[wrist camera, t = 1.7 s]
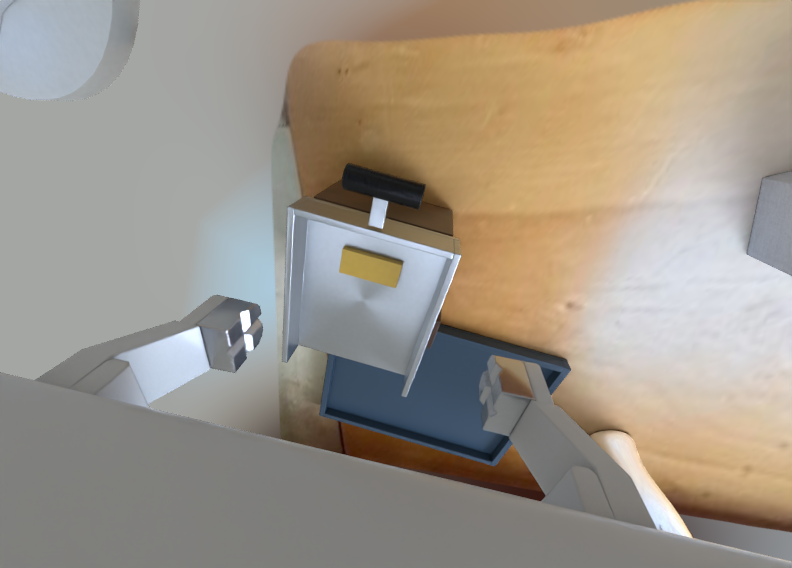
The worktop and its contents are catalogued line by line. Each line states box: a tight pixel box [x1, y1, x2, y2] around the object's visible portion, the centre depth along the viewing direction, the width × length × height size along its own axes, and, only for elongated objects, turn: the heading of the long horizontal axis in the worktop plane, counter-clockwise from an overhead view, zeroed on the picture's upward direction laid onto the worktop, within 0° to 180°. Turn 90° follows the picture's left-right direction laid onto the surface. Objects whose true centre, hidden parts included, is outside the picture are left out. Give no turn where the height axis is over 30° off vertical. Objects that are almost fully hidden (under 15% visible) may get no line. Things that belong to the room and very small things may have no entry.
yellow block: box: [339, 246, 403, 288], centre depth 24 cm, size 5×2×1 cm, turn 77°
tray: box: [319, 324, 571, 466], centre depth 40 cm, size 28×22×2 cm
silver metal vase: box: [590, 430, 694, 538], centre depth 34 cm, size 7×7×15 cm
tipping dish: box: [282, 163, 461, 397], centre depth 24 cm, size 12×19×3 cm, turn 167°
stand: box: [314, 179, 453, 349], centre depth 28 cm, size 14×11×8 cm
